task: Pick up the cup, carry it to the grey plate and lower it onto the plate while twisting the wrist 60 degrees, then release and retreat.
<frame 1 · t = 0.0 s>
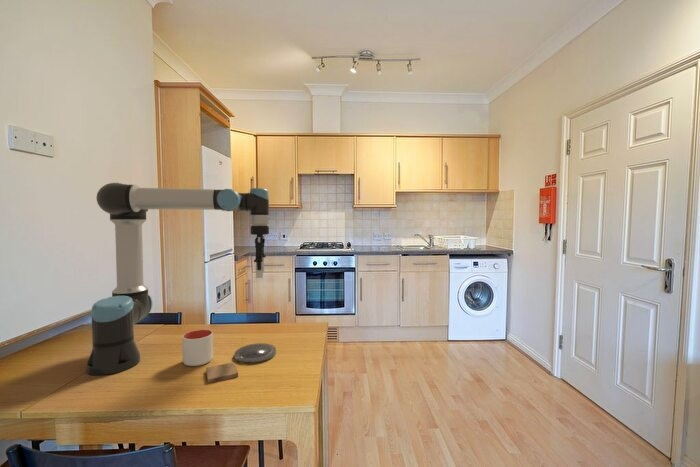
hand: (260, 275, 134), 28 cm above the table, fingers open, 13 cm apart
grey plate: (255, 354, 120), on the table
oak coaster: (221, 373, 105), on the table
cup: (198, 361, 114), on the table
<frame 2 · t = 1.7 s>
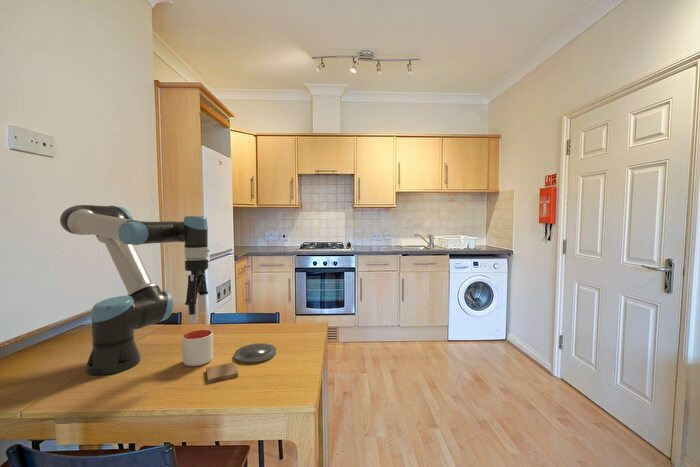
hand: (197, 317, 114), 16 cm above the table, fingers open, 13 cm apart
nothing on the table moved.
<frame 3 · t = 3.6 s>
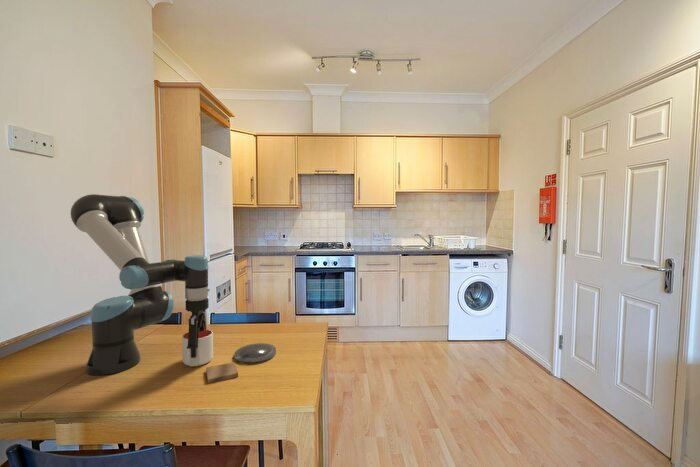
hand: (198, 359, 114), 1 cm above the table, fingers closed on cup, 10 cm apart
cup: (198, 361, 114), on the table, touching gripper
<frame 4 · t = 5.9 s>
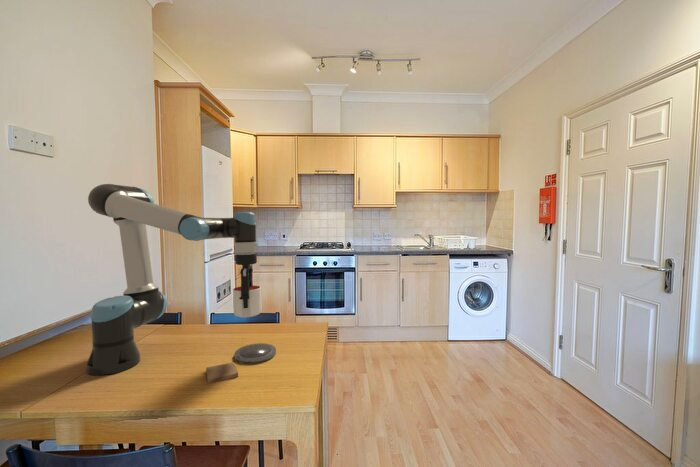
hand: (248, 312, 118), 17 cm above the table, fingers closed on cup, 10 cm apart
cup: (248, 314, 118), point 16 cm above the table, touching gripper
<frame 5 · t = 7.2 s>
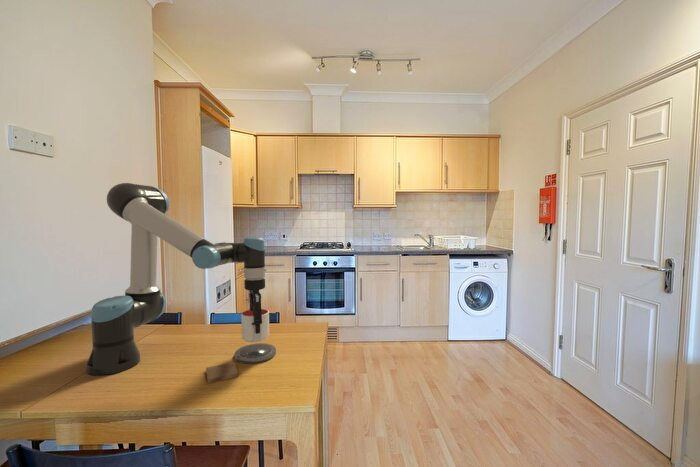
hand: (255, 336, 120), 7 cm above the table, fingers closed on cup, 10 cm apart
cup: (255, 338, 120), point 6 cm above the table, touching gripper
when the fingers open (4 cm above the table, at t = 8.4 s): cup drops 1 cm, resting on grey plate.
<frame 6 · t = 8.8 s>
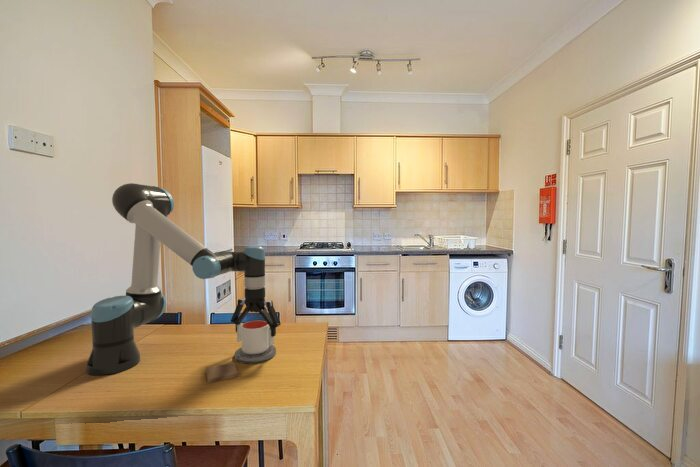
hand: (255, 342, 120), 5 cm above the table, fingers open, 13 cm apart
cup: (255, 350, 120), point 2 cm above the table, touching grey plate
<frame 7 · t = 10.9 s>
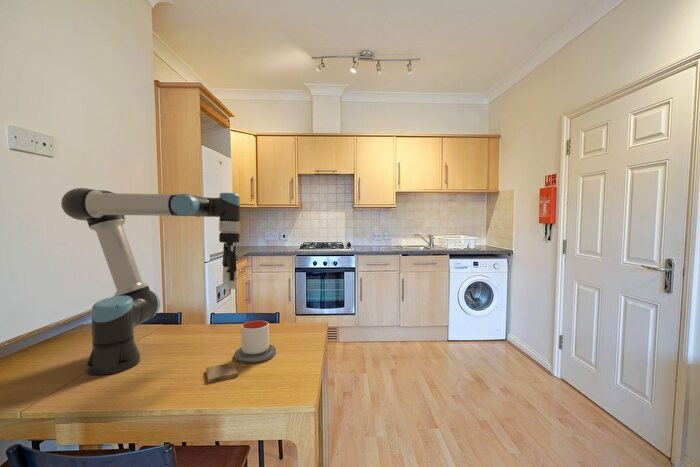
hand: (228, 285, 125), 25 cm above the table, fingers open, 13 cm apart
nothing on the table moved.
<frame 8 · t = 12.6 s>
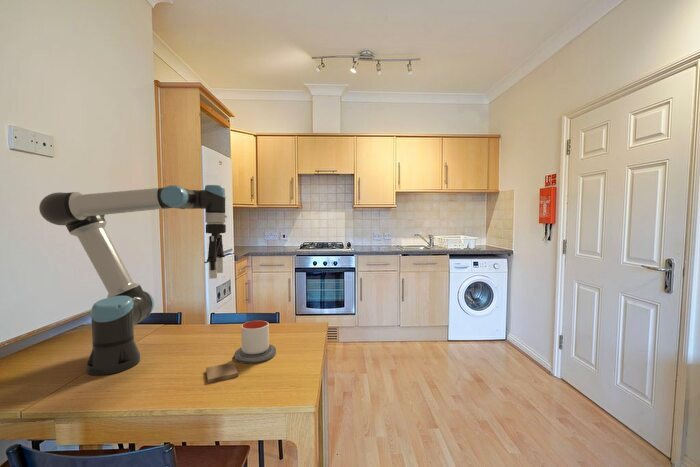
hand: (216, 275, 129), 29 cm above the table, fingers open, 13 cm apart
nothing on the table moved.
at the end: cup 0.0 cm from the grey plate (horizontally); cup tilted 0°; the gripper is holding nothing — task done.
